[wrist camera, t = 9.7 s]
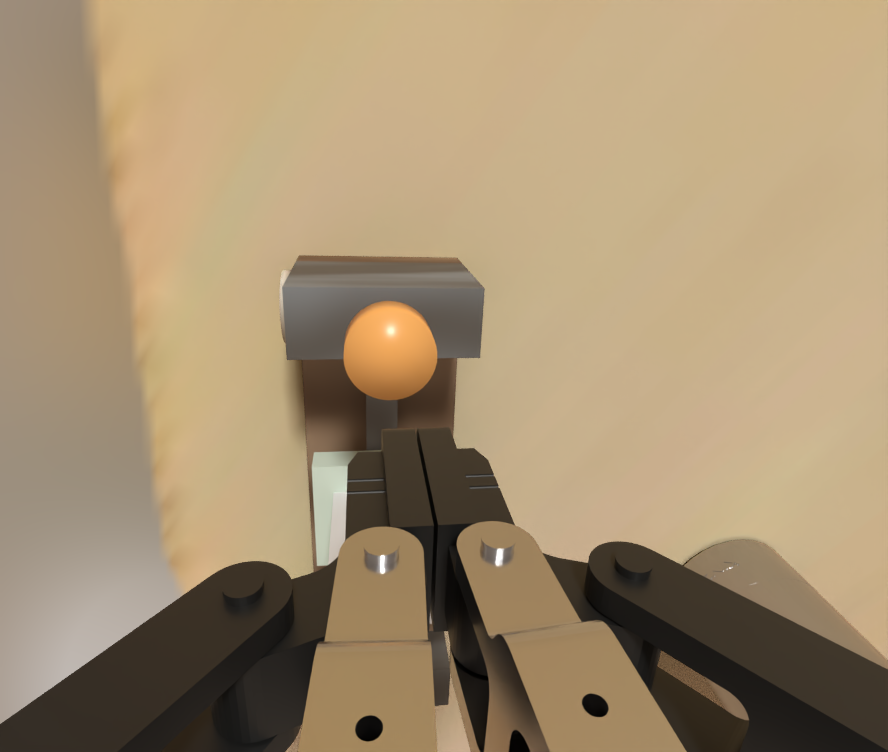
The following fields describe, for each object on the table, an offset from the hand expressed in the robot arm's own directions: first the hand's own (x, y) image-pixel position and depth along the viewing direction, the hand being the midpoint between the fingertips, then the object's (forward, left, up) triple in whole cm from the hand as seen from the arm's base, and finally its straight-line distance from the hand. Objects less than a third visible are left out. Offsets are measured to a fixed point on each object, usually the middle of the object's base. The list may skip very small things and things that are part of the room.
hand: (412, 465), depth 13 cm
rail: (-8, +9, -18) cm, 22 cm away
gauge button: (0, 0, -9) cm, 9 cm away
